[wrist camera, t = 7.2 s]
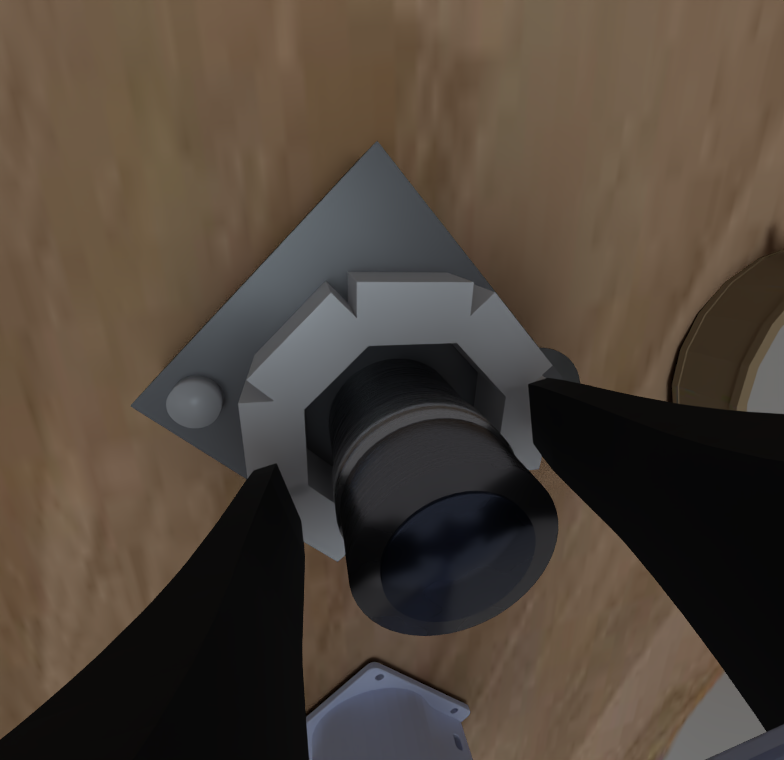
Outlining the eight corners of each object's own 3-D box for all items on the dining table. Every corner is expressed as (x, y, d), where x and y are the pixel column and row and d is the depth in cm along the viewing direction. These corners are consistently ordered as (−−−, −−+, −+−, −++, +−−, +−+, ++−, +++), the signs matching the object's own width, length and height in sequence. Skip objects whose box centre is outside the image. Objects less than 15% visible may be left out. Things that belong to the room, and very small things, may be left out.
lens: (445, 337, 13) (561, 429, 7) (467, 453, 14) (571, 598, 9) (306, 380, 12) (310, 515, 7) (347, 493, 14) (378, 673, 8)
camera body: (545, 383, 18) (630, 439, 13) (388, 526, 19) (416, 622, 14) (360, 157, 13) (394, 123, 8) (163, 369, 14) (97, 441, 9)
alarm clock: (988, 262, 17) (868, 568, 20) (838, 269, 22) (757, 516, 24) (814, 208, 14) (700, 577, 17) (684, 230, 19) (611, 516, 21)
